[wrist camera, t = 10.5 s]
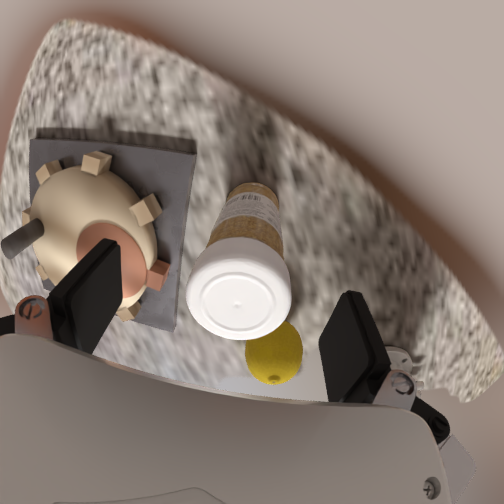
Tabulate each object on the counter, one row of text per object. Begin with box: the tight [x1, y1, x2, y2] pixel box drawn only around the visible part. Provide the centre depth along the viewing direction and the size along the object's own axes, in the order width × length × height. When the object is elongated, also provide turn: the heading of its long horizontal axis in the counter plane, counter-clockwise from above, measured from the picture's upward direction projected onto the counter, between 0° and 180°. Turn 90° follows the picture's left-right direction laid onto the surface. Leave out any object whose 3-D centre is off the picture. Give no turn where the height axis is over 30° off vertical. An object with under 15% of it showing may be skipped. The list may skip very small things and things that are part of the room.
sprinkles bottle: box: [186, 182, 292, 340], centre depth 17 cm, size 5×5×13 cm
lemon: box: [245, 321, 303, 384], centre depth 25 cm, size 6×6×8 cm
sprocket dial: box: [1, 151, 170, 322], centre depth 21 cm, size 18×18×7 cm
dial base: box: [29, 138, 197, 332], centre depth 25 cm, size 19×19×1 cm
